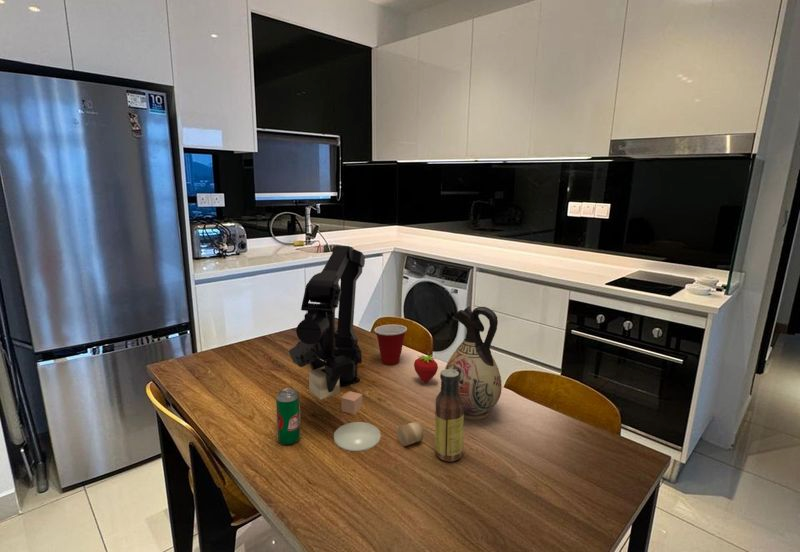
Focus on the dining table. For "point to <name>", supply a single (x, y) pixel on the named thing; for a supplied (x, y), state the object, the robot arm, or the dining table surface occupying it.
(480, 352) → the ceramic jug
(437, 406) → the sauce bottle
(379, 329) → the plastic cup
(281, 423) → the soda can
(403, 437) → the beech cylinder
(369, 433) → the coaster
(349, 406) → the terracotta block
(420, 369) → the strawberry
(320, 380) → the maple block
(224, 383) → the dining table surface
